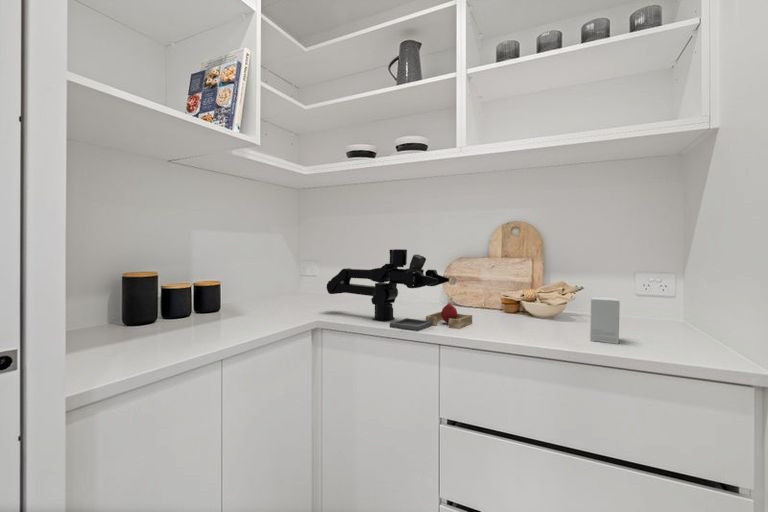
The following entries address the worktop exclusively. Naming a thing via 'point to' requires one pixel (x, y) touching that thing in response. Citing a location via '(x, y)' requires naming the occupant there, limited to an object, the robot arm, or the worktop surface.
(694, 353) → the worktop surface
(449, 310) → the onion
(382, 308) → the robot arm
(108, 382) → the worktop surface
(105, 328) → the worktop surface
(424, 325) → the grey square tray
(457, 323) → the oak frame
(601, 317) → the supplement box
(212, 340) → the worktop surface
